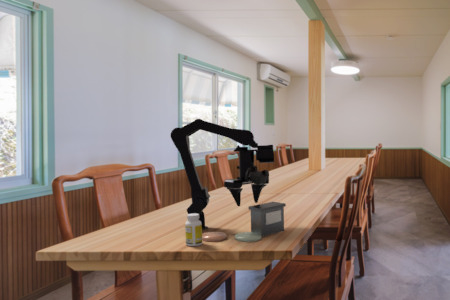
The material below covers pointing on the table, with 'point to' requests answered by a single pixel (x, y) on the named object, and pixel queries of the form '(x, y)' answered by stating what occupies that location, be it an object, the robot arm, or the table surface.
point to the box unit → (267, 218)
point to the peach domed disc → (213, 236)
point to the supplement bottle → (193, 230)
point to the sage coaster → (248, 237)
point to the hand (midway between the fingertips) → (247, 204)
